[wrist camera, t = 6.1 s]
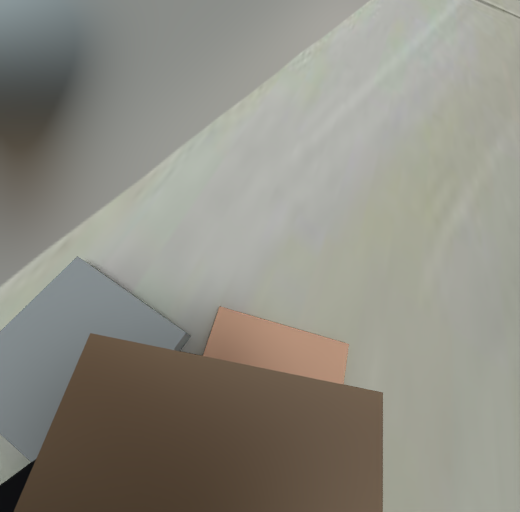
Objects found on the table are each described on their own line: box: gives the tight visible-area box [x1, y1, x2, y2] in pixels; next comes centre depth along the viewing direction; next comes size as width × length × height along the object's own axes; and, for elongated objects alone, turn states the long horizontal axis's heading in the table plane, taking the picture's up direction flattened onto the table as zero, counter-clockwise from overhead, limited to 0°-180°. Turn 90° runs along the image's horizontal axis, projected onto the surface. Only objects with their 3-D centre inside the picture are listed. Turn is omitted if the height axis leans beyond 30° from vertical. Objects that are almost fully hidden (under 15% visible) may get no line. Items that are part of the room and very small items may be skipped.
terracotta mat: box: [203, 307, 349, 384], centre depth 20 cm, size 11×11×1 cm
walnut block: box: [14, 333, 383, 512], centre depth 8 cm, size 4×4×10 cm
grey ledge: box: [0, 256, 190, 462], centre depth 19 cm, size 11×11×2 cm
